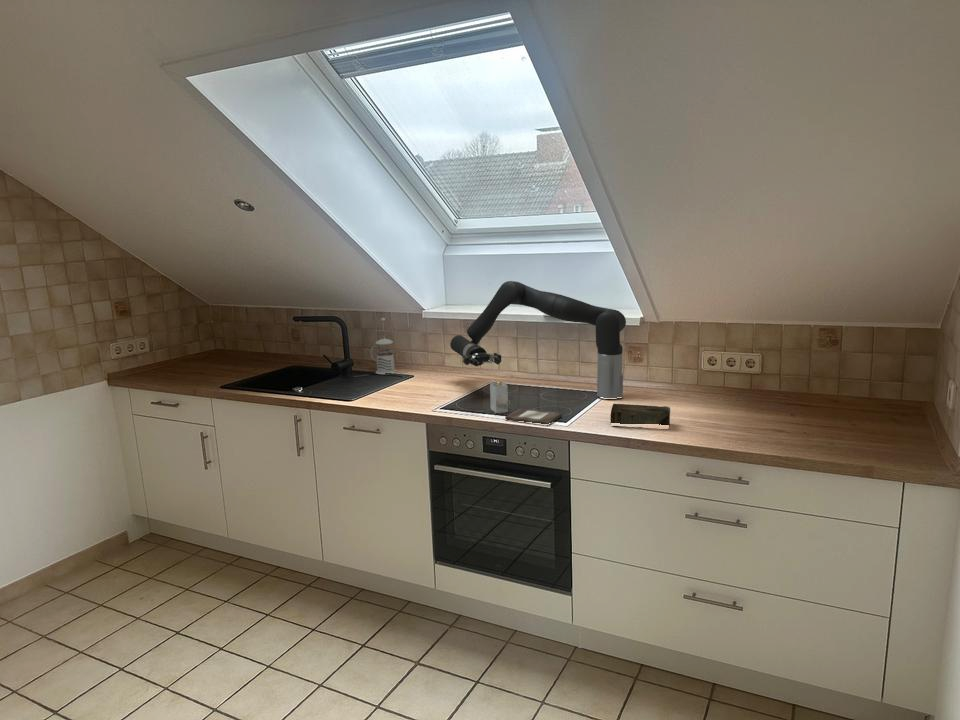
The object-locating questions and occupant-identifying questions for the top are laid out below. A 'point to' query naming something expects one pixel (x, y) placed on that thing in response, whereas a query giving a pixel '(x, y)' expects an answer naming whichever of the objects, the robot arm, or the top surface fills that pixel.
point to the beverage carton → (640, 414)
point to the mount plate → (533, 416)
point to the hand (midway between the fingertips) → (487, 362)
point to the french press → (385, 367)
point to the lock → (499, 397)
